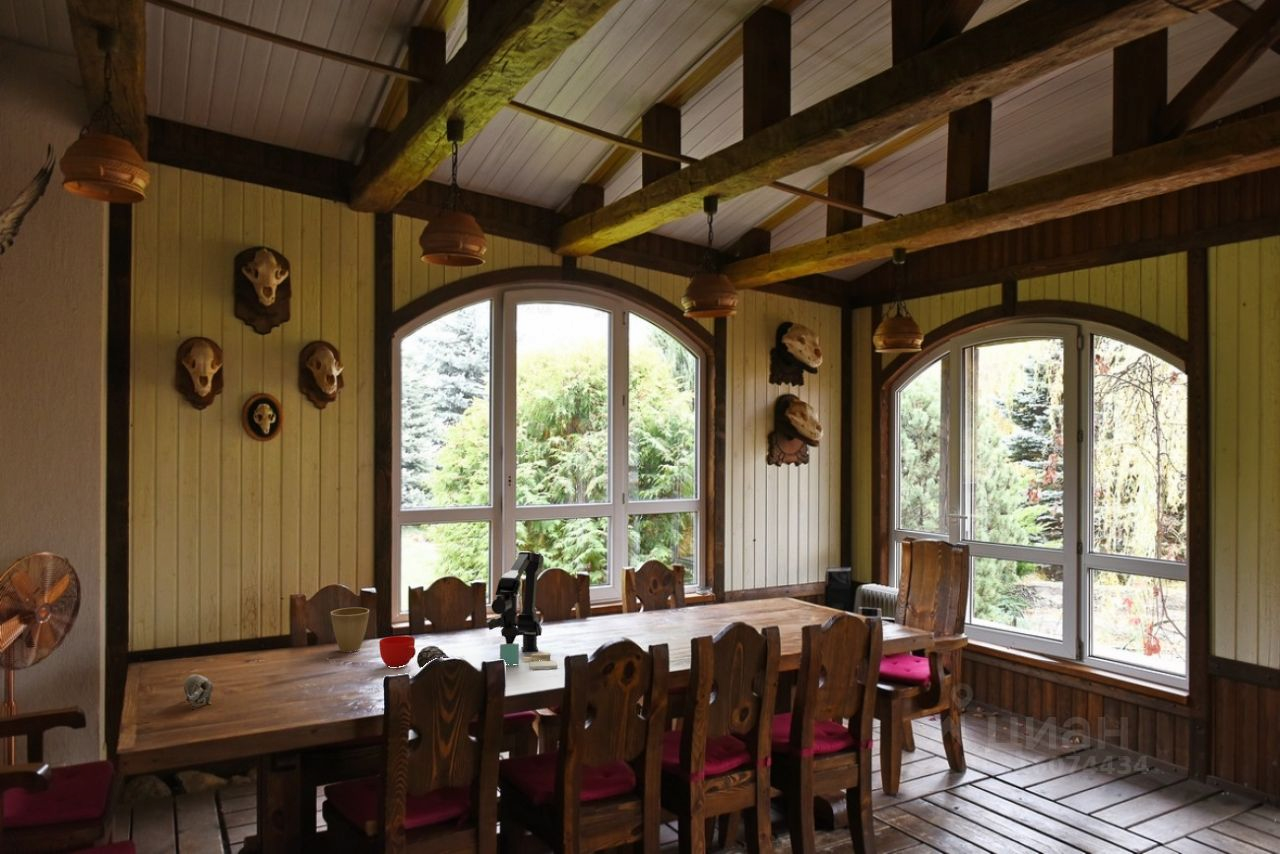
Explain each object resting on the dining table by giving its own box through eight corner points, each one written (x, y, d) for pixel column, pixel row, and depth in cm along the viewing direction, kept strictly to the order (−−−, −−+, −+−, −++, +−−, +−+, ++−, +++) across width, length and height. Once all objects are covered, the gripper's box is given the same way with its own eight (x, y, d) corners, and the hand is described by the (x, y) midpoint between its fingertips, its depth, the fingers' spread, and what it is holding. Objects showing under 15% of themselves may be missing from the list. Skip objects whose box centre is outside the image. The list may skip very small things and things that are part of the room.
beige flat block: (522, 659, 324) (522, 653, 324) (549, 658, 326) (549, 652, 326) (523, 663, 319) (523, 656, 319) (550, 661, 321) (550, 655, 321)
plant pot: (328, 648, 340) (329, 609, 340) (366, 644, 346) (367, 606, 346) (331, 656, 326) (332, 616, 327) (371, 652, 333) (371, 613, 333)
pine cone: (436, 683, 291) (437, 654, 291) (411, 673, 304) (411, 645, 304) (462, 677, 298) (462, 649, 298) (436, 667, 311) (436, 641, 311)
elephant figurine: (208, 687, 276) (209, 657, 268) (215, 720, 267) (216, 689, 259) (182, 693, 271) (181, 662, 264) (188, 727, 262) (188, 696, 255)
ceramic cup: (399, 674, 301) (400, 647, 301) (371, 667, 311) (372, 640, 312) (428, 667, 311) (428, 640, 312) (400, 660, 322) (400, 634, 322)
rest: (529, 665, 315) (529, 661, 315) (555, 663, 317) (555, 660, 317) (530, 669, 308) (530, 666, 308) (557, 668, 310) (557, 665, 310)
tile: (499, 664, 315) (500, 644, 315) (518, 664, 317) (518, 643, 316) (500, 666, 314) (500, 645, 313) (518, 665, 315) (518, 644, 315)
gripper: (487, 605, 325) (486, 645, 325) (488, 614, 307) (488, 656, 307) (515, 604, 328) (515, 644, 327) (518, 613, 309) (518, 655, 309)
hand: (508, 649), depth 317 cm, fingers closed
